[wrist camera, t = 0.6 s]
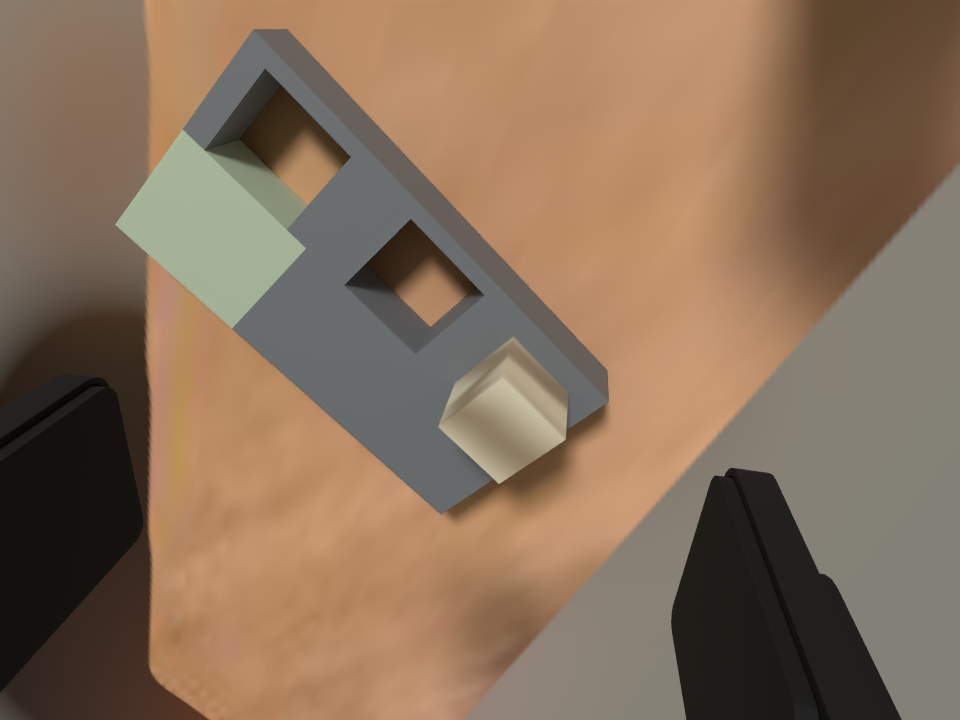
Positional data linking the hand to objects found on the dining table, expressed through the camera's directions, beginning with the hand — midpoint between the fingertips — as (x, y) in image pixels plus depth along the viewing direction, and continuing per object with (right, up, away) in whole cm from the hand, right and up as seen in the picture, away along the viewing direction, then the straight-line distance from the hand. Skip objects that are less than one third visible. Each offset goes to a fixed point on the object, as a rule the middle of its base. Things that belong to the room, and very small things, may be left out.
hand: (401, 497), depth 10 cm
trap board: (-5, +7, +32) cm, 33 cm away
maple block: (+3, 0, +29) cm, 29 cm away
